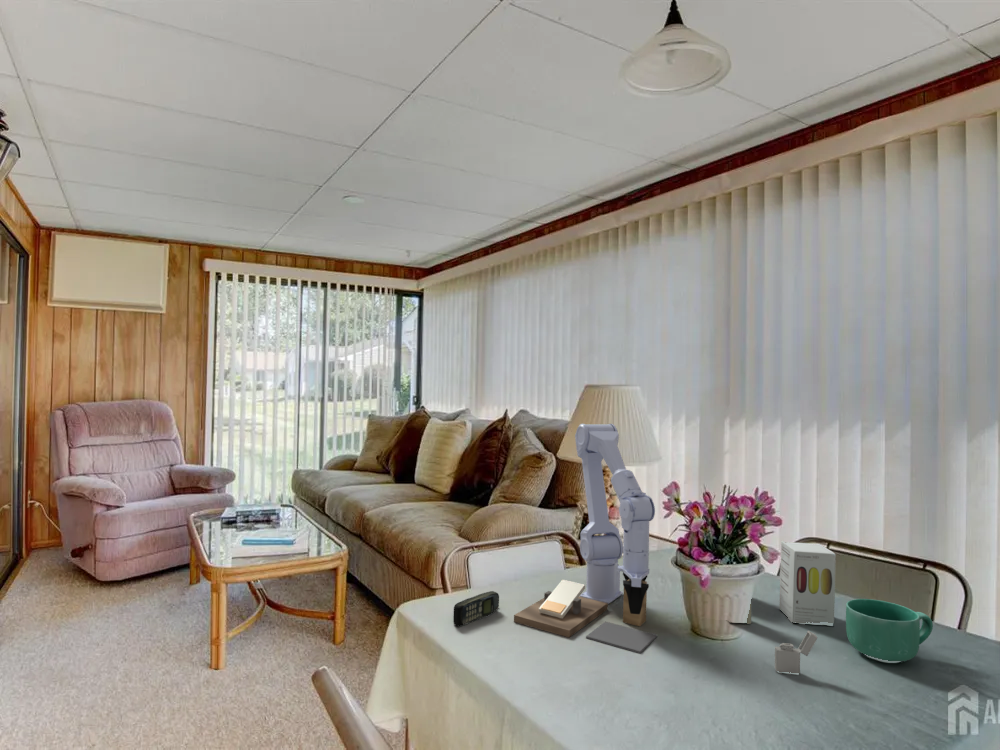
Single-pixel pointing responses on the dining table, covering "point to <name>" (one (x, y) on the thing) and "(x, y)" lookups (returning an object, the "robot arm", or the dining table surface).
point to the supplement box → (807, 582)
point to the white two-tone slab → (561, 598)
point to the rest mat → (622, 636)
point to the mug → (885, 629)
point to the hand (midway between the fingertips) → (634, 608)
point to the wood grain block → (634, 618)
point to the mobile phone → (475, 608)
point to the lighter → (793, 654)
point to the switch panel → (571, 622)
